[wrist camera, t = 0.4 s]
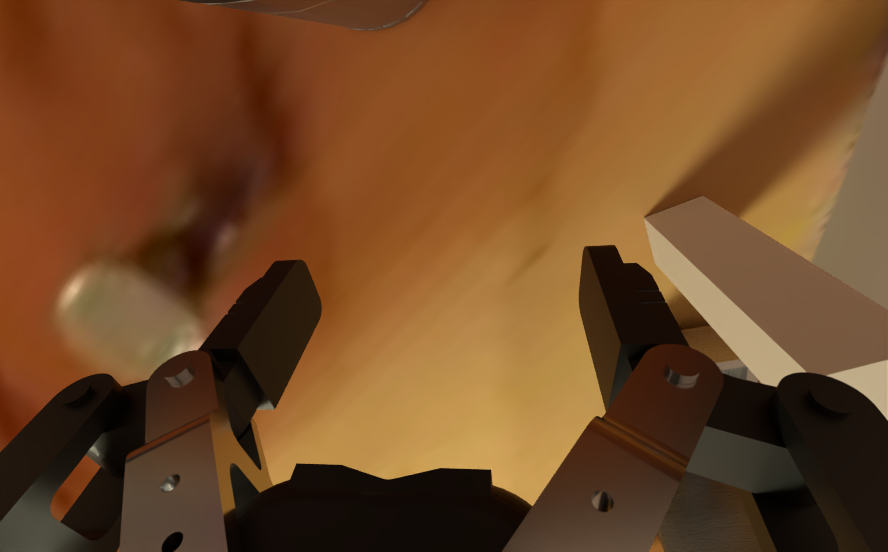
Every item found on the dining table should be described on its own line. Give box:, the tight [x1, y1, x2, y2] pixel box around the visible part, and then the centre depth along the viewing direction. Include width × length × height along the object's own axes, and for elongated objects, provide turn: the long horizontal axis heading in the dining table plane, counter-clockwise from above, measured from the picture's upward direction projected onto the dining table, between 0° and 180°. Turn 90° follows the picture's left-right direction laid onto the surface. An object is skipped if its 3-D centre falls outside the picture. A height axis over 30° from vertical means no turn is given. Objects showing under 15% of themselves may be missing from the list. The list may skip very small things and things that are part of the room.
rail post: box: [644, 196, 888, 420], centre depth 22 cm, size 4×4×16 cm
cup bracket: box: [657, 325, 762, 552], centre depth 27 cm, size 15×10×22 cm, turn 15°
